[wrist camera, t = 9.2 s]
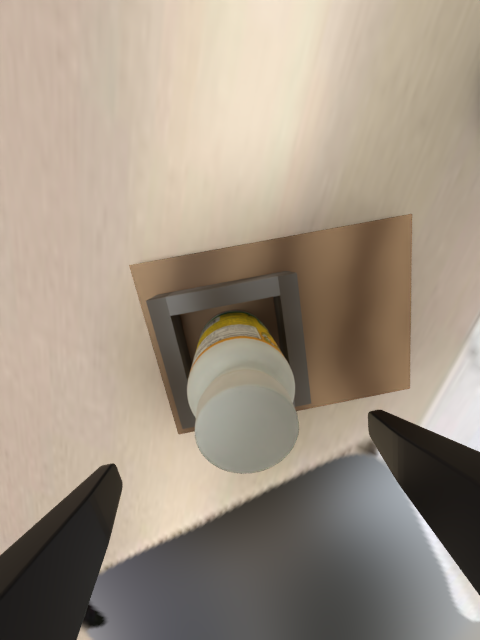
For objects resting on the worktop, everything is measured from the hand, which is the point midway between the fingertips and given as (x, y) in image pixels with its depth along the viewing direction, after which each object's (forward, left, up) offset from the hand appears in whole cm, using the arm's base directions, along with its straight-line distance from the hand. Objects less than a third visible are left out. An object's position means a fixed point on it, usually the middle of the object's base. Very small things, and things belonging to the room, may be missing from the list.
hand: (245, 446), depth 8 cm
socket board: (-4, 0, -12) cm, 12 cm away
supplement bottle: (0, 0, -11) cm, 11 cm away
